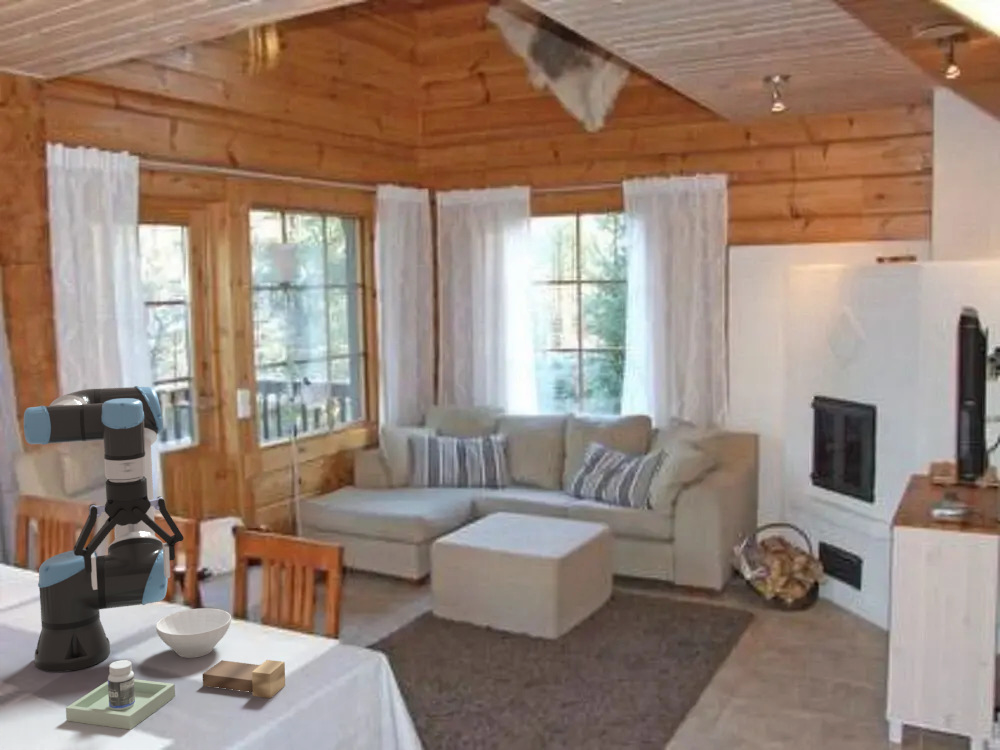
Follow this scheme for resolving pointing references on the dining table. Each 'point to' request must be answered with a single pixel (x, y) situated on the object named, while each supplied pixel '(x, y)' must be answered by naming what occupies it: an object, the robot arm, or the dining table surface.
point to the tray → (99, 713)
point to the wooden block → (268, 678)
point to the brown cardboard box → (230, 676)
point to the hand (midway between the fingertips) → (131, 581)
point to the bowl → (193, 630)
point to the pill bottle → (121, 685)
